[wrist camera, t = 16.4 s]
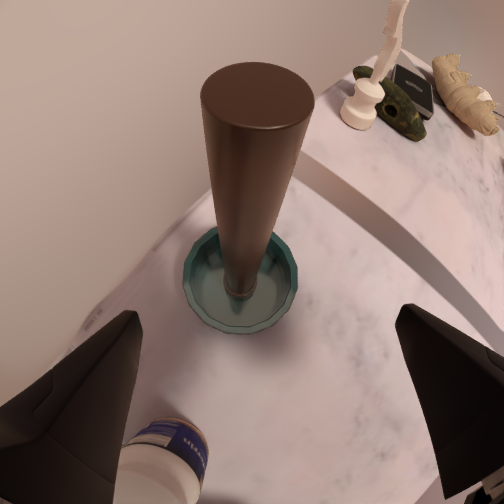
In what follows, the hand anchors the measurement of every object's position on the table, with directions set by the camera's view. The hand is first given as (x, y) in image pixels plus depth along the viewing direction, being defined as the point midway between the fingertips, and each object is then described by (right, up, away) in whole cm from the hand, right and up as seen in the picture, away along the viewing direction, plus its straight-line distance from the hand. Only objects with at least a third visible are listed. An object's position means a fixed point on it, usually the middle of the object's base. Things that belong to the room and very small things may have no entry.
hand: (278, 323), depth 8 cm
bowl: (-2, -1, +13) cm, 14 cm away
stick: (-2, 0, +13) cm, 13 cm away
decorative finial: (+11, +18, +20) cm, 29 cm away
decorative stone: (+15, +19, +20) cm, 31 cm away
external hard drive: (+23, +26, +23) cm, 42 cm away
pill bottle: (-7, -14, +9) cm, 18 cm away
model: (+39, +31, +17) cm, 52 cm away
